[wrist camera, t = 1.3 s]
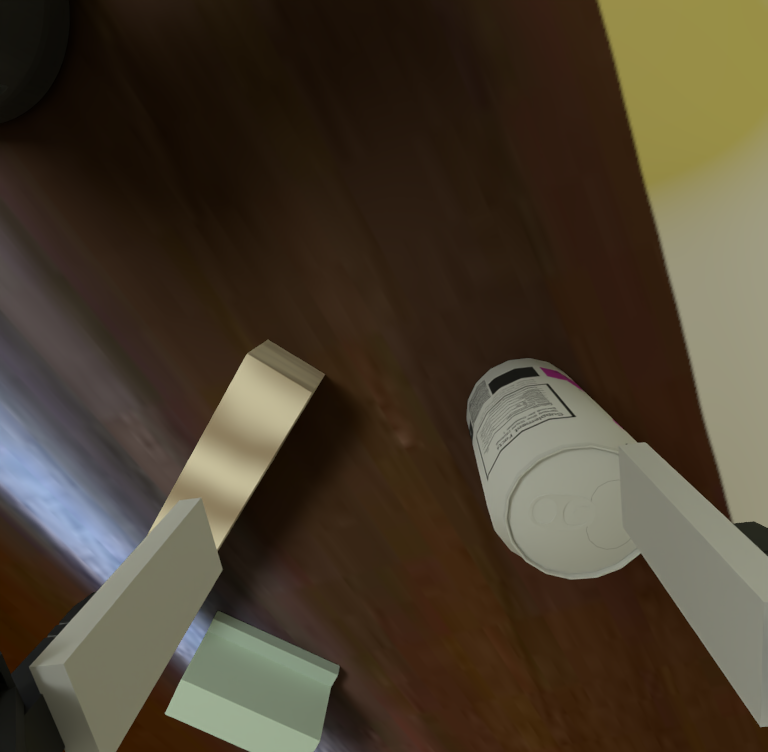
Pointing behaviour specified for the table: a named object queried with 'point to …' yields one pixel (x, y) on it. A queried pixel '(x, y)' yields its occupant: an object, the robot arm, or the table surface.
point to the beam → (244, 435)
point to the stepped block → (254, 689)
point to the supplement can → (550, 469)
